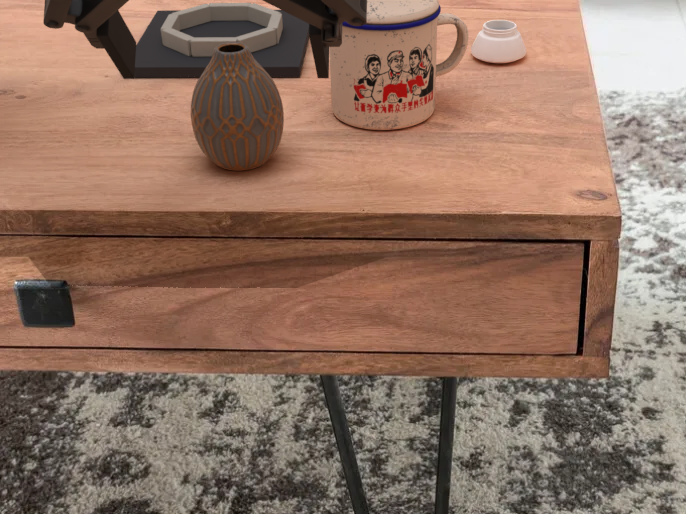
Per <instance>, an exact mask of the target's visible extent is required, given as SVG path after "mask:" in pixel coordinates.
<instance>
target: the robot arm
mask: <svg viewBox="0 0 686 514" xmlns="http://www.w3.org/2000/svg"><path fill="white" fill-rule="evenodd" d="M129 1H130V0H44V5H43V6H44V8H43V25H44V26H45V27H46V28H49V29H55V30H57V29H59V30H60V29H62V28H63V27H64V25H65V24H71V25H74V29H75V30H76V31H77V32H79V33H82V34H83V35H84V37H85V38H86V40H87V41H88V42H89V44H90V46H92V47H93V48H95V49H97V50H98V49H99V50H103V49H104V50H105V52H106V53H107V56H108V57H109V58H110V59H111V61H112V63H113V65H114V66H115V68H116V69H117V71H118V72H119V74H120V76H121V77H122V78H123V79H124V80H134V79H135V78H134V76H135V57H136V45H137V41H136V39H135V37H134V36H133V34H132V32H131V30H130V29H129V27H128V25H127V22H126V21H125V20H124V18H123V16H122V14H121V12H120V9H121V8H122V7H124V5H126V4H127V3H128V2H129ZM262 1H263V2H265V3H267V4H268V5H271V6H273V7H275V8H276V9H278V10H283V11H285V12H287V13H289V14H291V15H293V16H295V17H297V18H299V19H301V20H303V21H305V22H307V23H309V42H310V48H311V51H312V57H313V62H314V67H315V72H316V76H317V79H330V78H329V76H330V47H340V45H341V44H342V23H343V22H345V21H346V22H347V23H348V24H350V25H352V26H363V25H365V24H366V22H367V0H262Z"/></svg>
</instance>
